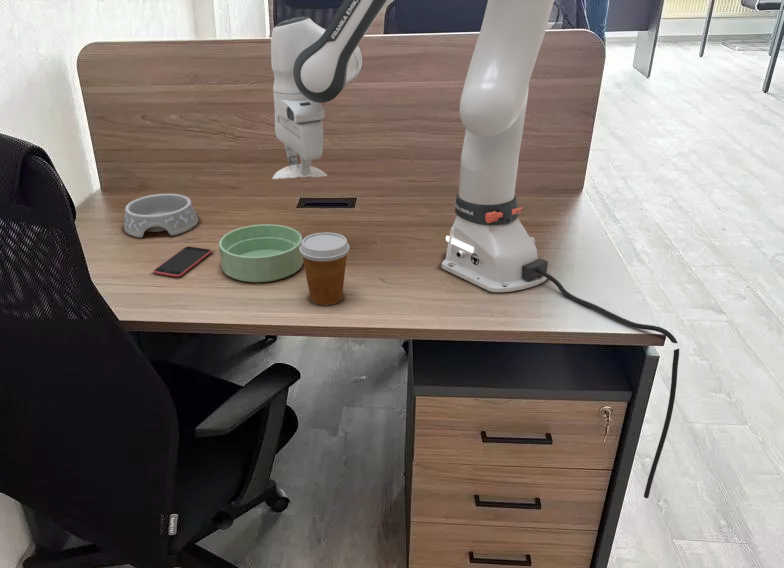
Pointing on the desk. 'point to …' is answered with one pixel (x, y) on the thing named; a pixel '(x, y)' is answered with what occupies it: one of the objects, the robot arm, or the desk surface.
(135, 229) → the dog bowl
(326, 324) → the desk surface
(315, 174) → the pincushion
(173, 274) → the smartphone
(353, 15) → the robot arm
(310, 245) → the disposable coffee cup
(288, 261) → the bowl
